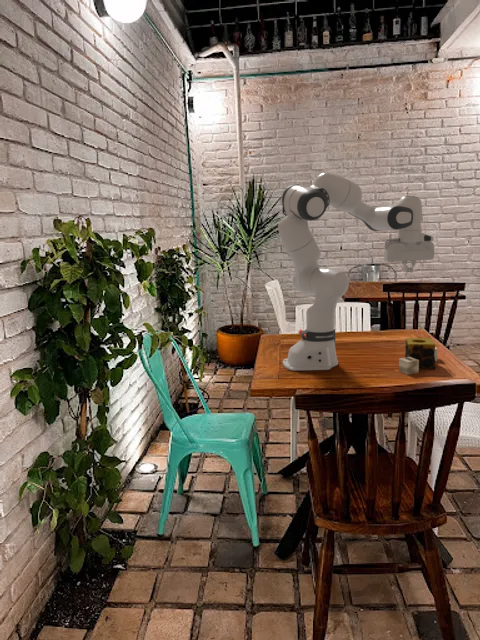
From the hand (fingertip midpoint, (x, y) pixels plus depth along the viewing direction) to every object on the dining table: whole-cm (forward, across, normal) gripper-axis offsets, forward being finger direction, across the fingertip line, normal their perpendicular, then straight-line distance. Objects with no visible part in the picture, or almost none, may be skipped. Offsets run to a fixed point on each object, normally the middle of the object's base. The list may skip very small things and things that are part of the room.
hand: (408, 272), depth 194 cm
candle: (+35, -2, -15) cm, 38 cm away
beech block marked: (+35, -10, -21) cm, 42 cm away
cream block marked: (+35, +6, -8) cm, 37 cm away
